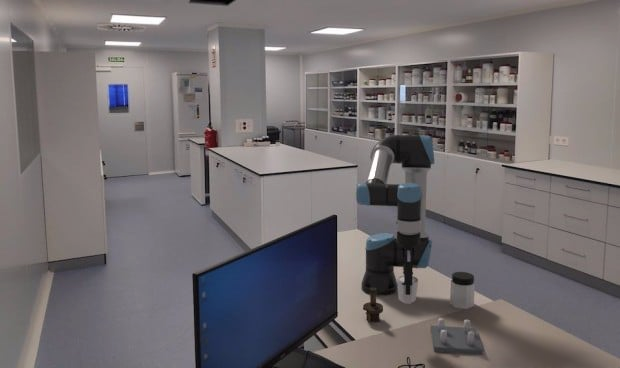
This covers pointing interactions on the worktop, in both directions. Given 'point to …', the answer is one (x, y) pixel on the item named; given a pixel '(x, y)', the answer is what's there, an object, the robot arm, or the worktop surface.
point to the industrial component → (373, 307)
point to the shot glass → (401, 287)
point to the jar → (462, 290)
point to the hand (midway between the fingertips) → (407, 298)
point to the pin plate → (455, 338)
